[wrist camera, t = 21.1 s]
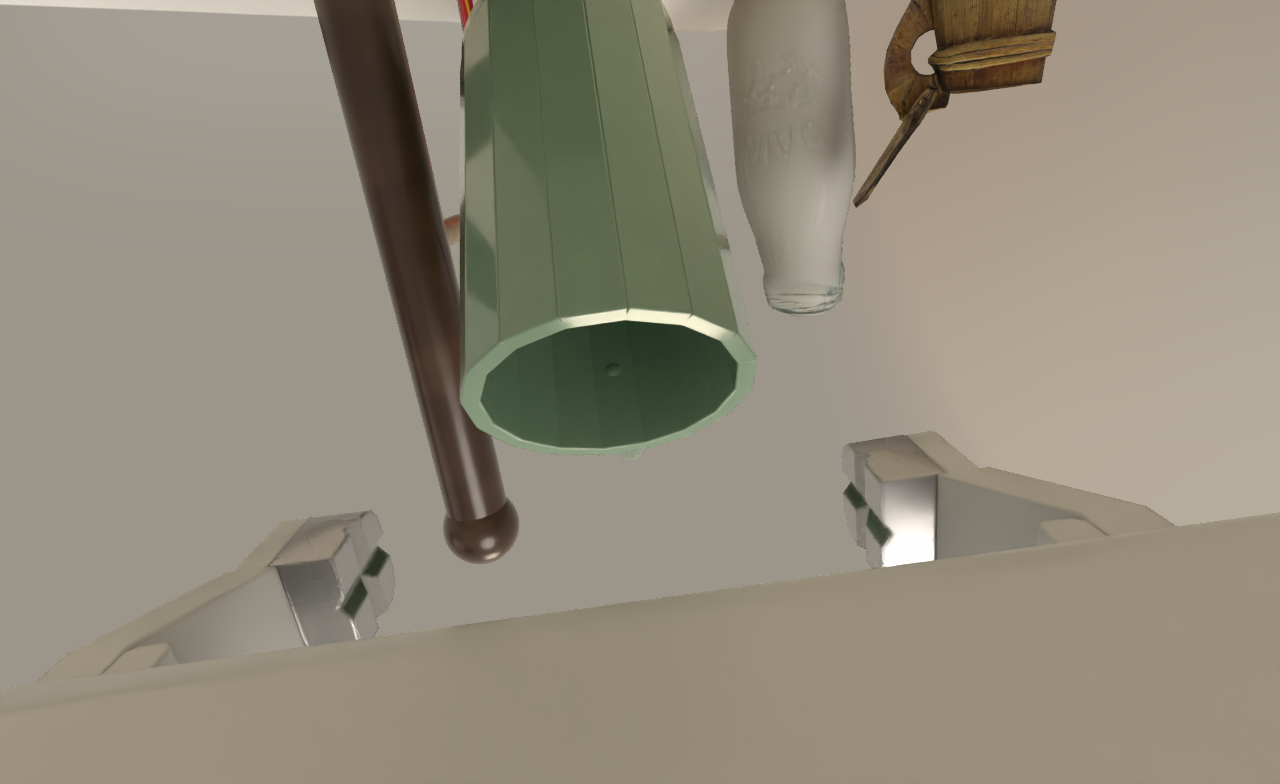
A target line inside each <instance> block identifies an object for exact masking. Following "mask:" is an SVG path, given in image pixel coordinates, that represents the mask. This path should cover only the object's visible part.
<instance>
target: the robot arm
mask: <svg viewBox="0 0 1280 784" xmlns="http://www.w3.org/2000/svg"><path fill="white" fill-rule="evenodd" d="M842 464H843V465H842V468H843V471H844V472H845V474H846V475H847V476H848V478H849V479H850V481H851V482H850V484H849V485H848V487H847V489H846V490H845V491H844V494H843V495H844V510H845V514H846V520H847V525H848V528H849V530H850V533H851V535H852V537H853V539H854V541H855V542H856V544H857V545H858V546H860V547H862V548H865V549H867V561H868V563H869V564H870V566H871V567H872V569H866V570H859V571H852V572H844V573H837V574H830V575H823V576H816V577H808V578H801V579H794V580H786V581H779V582H772V583H765V584H757V585H750V586H742V587H735V588H728V589H721V590H713V591H706V592H700V593H692V594H684V595H677V596H670V597H662V598H656V599H648V600H641V601H634V602H626V603H619V604H611V605H605V606H597V607H590V608H582V609H575V610H568V611H561V612H553V613H546V614H539V615H531V616H524V617H518V618H510V619H502V620H496V621H488V622H481V623H473V624H466V625H459V626H451V627H444V628H437V629H430V630H422V631H415V632H408V633H400V634H393V635H386V636H379V637H374V636H375V634H376V632H377V630H378V629H379V626H378V623H377V620H376V618H378V617H379V616H380V615H382V614H383V613H384V612H386V611H387V610H388V608H389V606H390V604H391V602H392V600H393V594H394V587H395V578H394V570H393V565H392V562H391V558H390V556H389V555H388V554H387V553H386V552H385V551H383V550H382V549H381V548H380V547H378V544H379V542H380V539H381V537H382V535H383V531H382V528H381V525H380V522H379V520H378V517H377V515H376V514H375V513H373V512H372V511H371V510H370V511H362V512H353V513H345V514H337V515H329V516H320V517H307V518H301V519H295V520H289V521H283V522H280V523H279V524H278V525H277V526H276V527H275V528H274V529H273V530H272V531H271V532H270V534H269V535H268V536H267V537H266V538H265V539H264V540H263V541H262V542H261V543H260V544H259V545H258V547H256V548H255V550H254V551H253V552H252V553H251V554H250V555H249V556H248V557H247V558H246V559H245V560H244V562H243V563H242V564H241V565H240V566H239V567H238V568H237V569H236V570H235V571H234V572H228V573H224V574H222V575H220V576H218V577H216V578H214V579H212V580H210V581H208V582H206V583H204V584H202V585H200V586H198V587H196V588H194V589H192V590H190V591H189V592H187V593H185V594H183V595H181V596H179V597H177V598H175V599H173V600H171V601H169V602H167V603H165V604H163V605H161V606H159V607H157V608H155V609H153V610H152V611H150V612H148V613H146V614H144V615H142V616H140V617H138V618H136V619H134V620H132V621H130V622H128V623H126V624H124V625H122V626H121V627H118V628H116V629H115V630H113V631H111V632H109V633H107V634H105V635H103V636H101V637H99V638H97V639H95V640H93V641H91V642H89V643H87V644H85V645H84V646H81V647H79V648H78V649H76V650H74V651H72V652H70V653H68V654H66V655H65V656H64V657H63V658H62V659H60V660H59V661H58V662H57V663H56V664H55V665H54V666H53V667H52V668H50V669H49V670H48V671H47V672H46V673H45V674H44V675H43V676H42V677H41V678H39V679H38V680H37V681H36V682H35V683H34V684H31V685H24V686H16V687H9V688H2V689H0V784H1280V512H1279V513H1272V514H1265V515H1258V516H1251V517H1243V518H1236V519H1229V520H1221V521H1214V522H1207V523H1200V524H1193V525H1185V526H1176V525H1174V524H1173V523H1171V522H1169V521H1168V520H1167V519H1165V518H1163V517H1162V516H1161V515H1159V514H1157V513H1156V512H1154V511H1153V510H1151V509H1150V508H1148V507H1146V506H1144V505H1139V504H1136V503H1132V502H1128V501H1123V500H1120V499H1116V498H1112V497H1108V496H1104V495H1100V494H1096V493H1092V492H1088V491H1084V490H1080V489H1076V488H1071V487H1067V486H1063V485H1059V484H1055V483H1051V482H1047V481H1043V480H1039V479H1035V478H1031V477H1027V476H1023V475H1019V474H1015V473H1011V472H1007V471H1003V470H999V469H995V468H991V467H986V468H979V467H978V466H976V465H975V464H974V463H973V462H972V461H970V460H969V459H968V458H967V457H966V456H964V455H963V454H962V453H961V452H960V451H958V450H957V449H956V448H955V447H953V446H952V445H951V444H950V443H949V442H947V441H946V440H945V439H944V438H943V437H941V436H940V435H939V434H938V433H936V432H934V431H927V432H921V433H916V434H910V435H899V436H893V437H887V438H880V439H874V440H868V441H862V442H856V443H849V444H847V445H845V446H844V447H843V454H842Z"/></svg>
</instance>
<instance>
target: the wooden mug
mask: <svg viewBox="0 0 1280 784" xmlns="http://www.w3.org/2000/svg"><path fill="white" fill-rule="evenodd" d="M1056 1H1057V0H911V2H910V4H909V6H908V8H907V9H906V11H905V13H904V15H903V17H902V19H901V20H900V23H899V24H898V26H897V28H896V31H895V33H894V35H893V37H892V40H891V42H890V44H889V47H888V49H887V53H886V59H885V65H884V81H885V90H886V92H887V95H888V97H889V100H890V102H891V104H892V105H893V107H894V108H895V109H896V111H897V112H898V114H899V119H900V120H902V121H903V123H902V124H901V126H900V127H899V129H898V131H897V132H896V134H895V136H894V137H893V139H892V140H891V142H890V143H889V145H888V146H887V148H886V150H885V151H884V153H883V154H882V156H881V157H880V159H879V160H878V162H877V164H876V165H875V167H874V168H873V170H872V172H871V173H870V175H869V176H868V178H867V179H866V181H865V183H864V184H863V186H862V187H861V189H860V190H859V192H858V194H857V195H856V197H855V198H854V200H853V203H854V205H855V207H858V206H859V205H861V204H862V203H863V202H865V201H866V200H867V199H868V198H869V196H870V195H871V193H872V191H873V190H874V188H875V187H876V185H877V183H878V182H879V180H880V179H881V178H882V176H883V175H884V173H885V171H886V170H887V169H888V167H889V166H890V165H891V163H892V162H893V160H894V159H895V157H896V155H897V154H898V153H899V151H900V150H901V149H902V147H903V146H904V144H905V143H906V142H907V140H908V139H909V138H910V136H911V135H912V134H913V132H914V131H915V129H916V128H917V127H918V126H919V125H920V123H921V122H922V120H923V118H924V117H925V115H926V114H927V113H929V112H933V111H936V110H940V109H943V108H946V106H947V105H948V101H949V96H950V93H953V94H955V93H956V94H958V93H959V94H960V93H968V92H979V91H986V90H993V89H1000V88H1008V87H1016V86H1021V85H1027V84H1036V83H1041V82H1042V76H1043V70H1044V64H1045V58H1046V56H1049V55H1051V52H1052V49H1053V45H1054V41H1055V36H1056V32H1054V31H1053V30H1051V27H1052V22H1053V16H1054V11H1055V6H1056ZM930 30H934V31H935V36H936V43H937V48H938V50H937V51H936V52H934V53H933V54H932V55H931V56H930V57H929V58H928V63H929V64H930V65H931V66H932V67H933V70H934V71H935V73H933V74H931V75H922V74H919V73H918V72H917V71H916V70H915V68H914V67H913V65H912V64H911V50H912V48H913V46H914V44H915V42H916V40H917V39H918V38H919V37H920V36H921V35H923V34H924V33H926V32H928V31H930Z"/></svg>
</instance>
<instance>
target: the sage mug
mask: <svg viewBox="0 0 1280 784" xmlns="http://www.w3.org/2000/svg"><path fill="white" fill-rule="evenodd" d="M756 364H757V356H756V352H755V348H754V344H753V340H752V336H751V332H750V328H749V324H748V319H747V315H746V312H745V308H744V303H743V300H742V295H741V291H740V287H739V283H738V279H737V275H736V271H735V267H734V263H733V259H732V255H731V251H730V247H729V243H728V239H727V234H726V230H725V226H724V222H723V218H722V214H721V210H720V206H719V202H718V198H717V194H716V190H715V186H714V182H713V178H712V174H711V170H710V166H709V162H708V158H707V154H706V150H705V146H704V141H703V137H702V133H701V129H700V125H699V121H698V117H697V113H696V109H695V105H694V101H693V97H692V93H691V89H690V85H689V81H688V77H687V73H686V69H685V65H684V60H683V57H682V52H681V48H680V45H679V41H678V38H677V36H676V34H675V32H674V28H673V24H672V22H671V19H670V17H669V14H668V12H667V10H666V8H665V6H664V5H663V3H662V1H661V0H477V1H476V3H475V5H474V7H473V8H472V10H471V12H470V14H469V17H468V20H467V23H466V25H465V29H464V34H463V39H462V60H461V69H460V403H461V405H462V406H463V408H464V409H465V411H466V412H467V414H468V415H469V417H470V418H471V420H472V421H473V423H474V424H475V426H476V427H478V429H480V430H482V431H484V432H485V433H487V434H489V435H491V436H493V437H495V438H497V439H499V440H501V441H503V442H504V443H507V444H509V445H511V446H515V447H520V448H524V449H529V450H534V451H539V452H544V453H549V454H556V455H606V454H613V453H618V455H619V456H620V457H621V458H623V459H626V460H633V459H635V458H637V457H638V456H639V455H640V454H641V453H642V450H643V449H647V448H651V447H654V446H657V445H660V444H664V443H667V442H670V441H673V440H676V439H679V438H682V437H686V436H689V435H691V434H694V433H696V432H698V431H699V430H701V429H703V428H705V427H706V426H708V425H710V424H712V423H714V422H715V421H717V420H719V419H721V418H722V417H724V416H726V415H728V413H730V412H731V411H732V410H733V409H734V408H735V407H736V406H737V404H738V403H739V402H740V401H741V400H742V399H743V398H744V397H745V396H746V395H747V394H748V392H749V391H750V390H751V389H752V387H753V382H754V376H755V370H756Z"/></svg>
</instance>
